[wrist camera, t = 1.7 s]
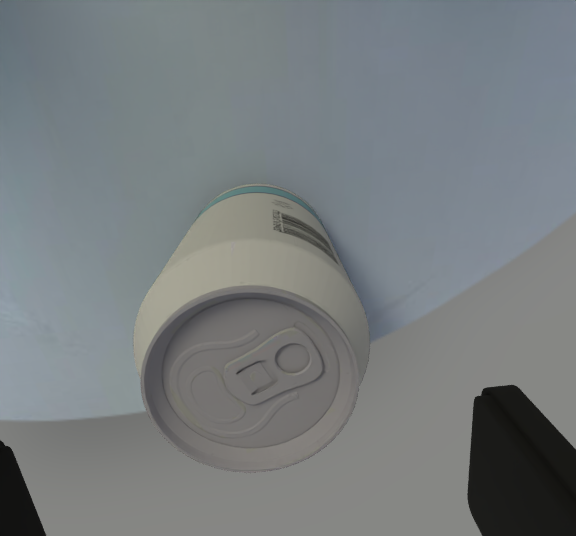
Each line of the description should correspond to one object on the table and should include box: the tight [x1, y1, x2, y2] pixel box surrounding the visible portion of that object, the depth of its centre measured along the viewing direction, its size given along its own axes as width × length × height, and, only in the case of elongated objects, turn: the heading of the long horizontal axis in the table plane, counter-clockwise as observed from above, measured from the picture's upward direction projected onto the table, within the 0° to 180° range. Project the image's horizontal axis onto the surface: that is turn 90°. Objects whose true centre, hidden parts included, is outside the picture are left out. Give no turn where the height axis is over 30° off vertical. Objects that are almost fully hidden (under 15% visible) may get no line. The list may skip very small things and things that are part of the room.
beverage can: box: [133, 184, 370, 472], centre depth 16 cm, size 7×7×12 cm
